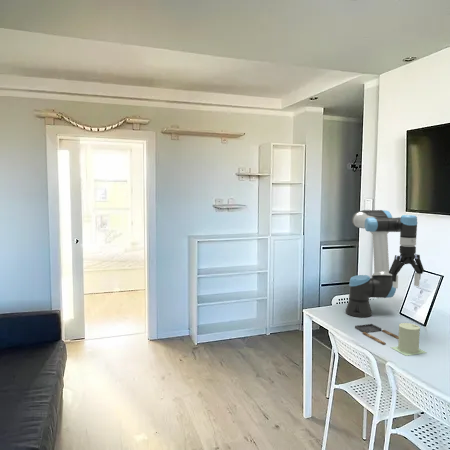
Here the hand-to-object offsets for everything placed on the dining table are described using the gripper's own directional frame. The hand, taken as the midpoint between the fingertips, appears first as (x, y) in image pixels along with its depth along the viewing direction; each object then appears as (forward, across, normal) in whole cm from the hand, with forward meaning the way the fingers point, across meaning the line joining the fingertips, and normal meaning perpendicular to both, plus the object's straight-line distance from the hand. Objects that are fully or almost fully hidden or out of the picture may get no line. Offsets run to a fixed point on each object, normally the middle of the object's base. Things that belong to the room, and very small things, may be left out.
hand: (406, 286), depth 203 cm
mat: (+27, -10, -14) cm, 32 cm away
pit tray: (+27, -10, +16) cm, 32 cm away
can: (+27, -10, -14) cm, 32 cm away
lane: (+27, -10, +3) cm, 29 cm away
